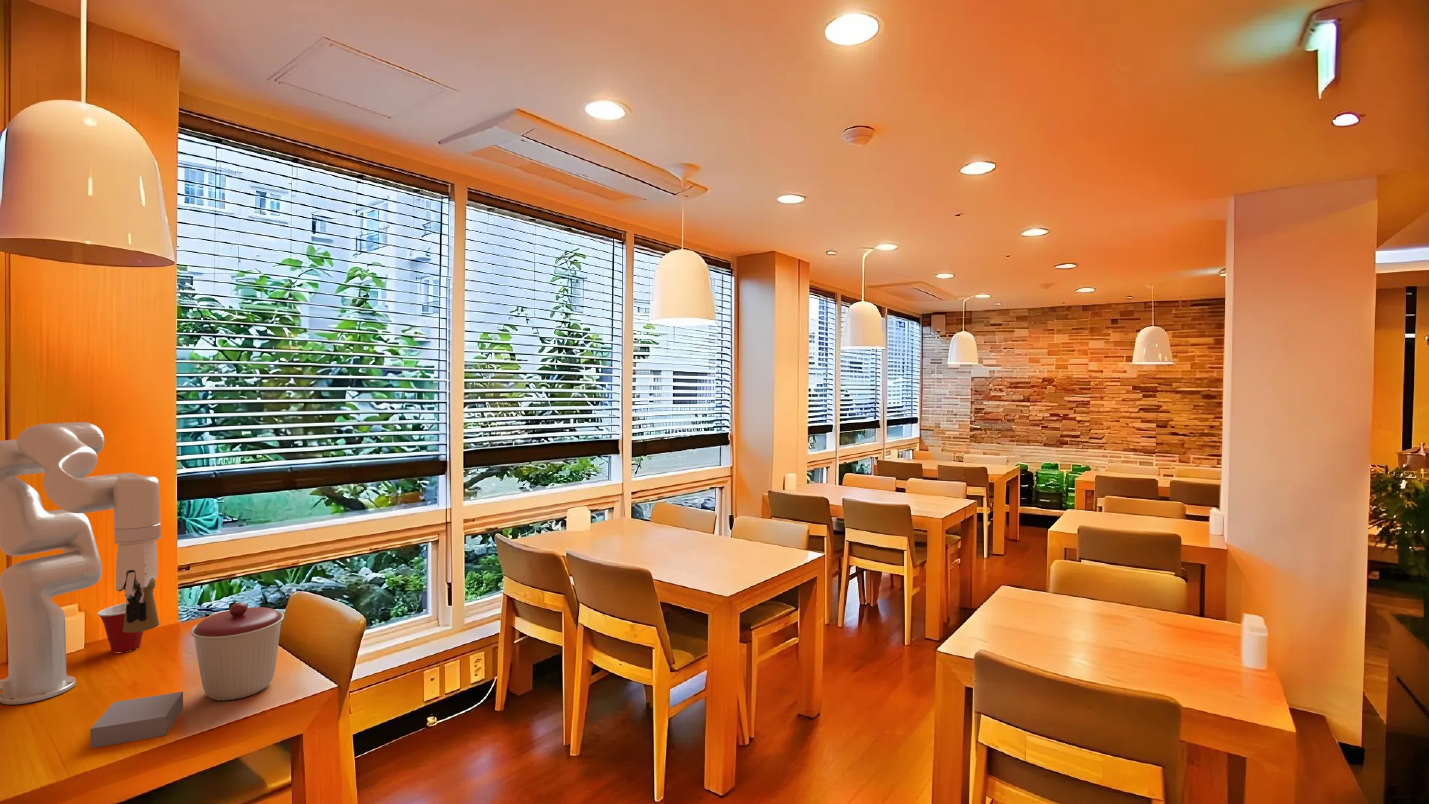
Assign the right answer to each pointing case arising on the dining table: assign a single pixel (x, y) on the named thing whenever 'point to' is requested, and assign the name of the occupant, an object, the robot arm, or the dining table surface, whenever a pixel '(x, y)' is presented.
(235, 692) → the canister
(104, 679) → the dining table surface
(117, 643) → the plastic cup
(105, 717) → the block
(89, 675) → the dining table surface
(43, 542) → the robot arm
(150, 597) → the cork
